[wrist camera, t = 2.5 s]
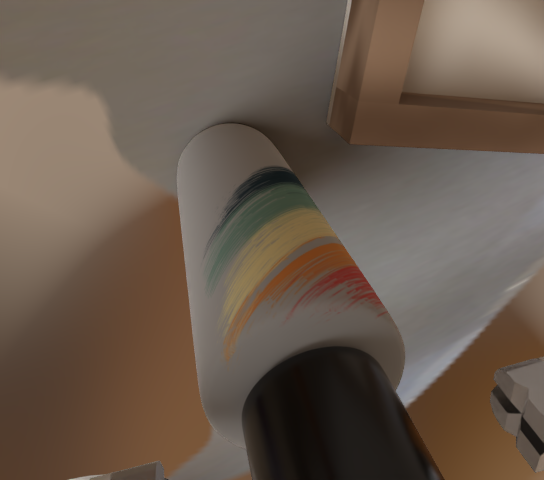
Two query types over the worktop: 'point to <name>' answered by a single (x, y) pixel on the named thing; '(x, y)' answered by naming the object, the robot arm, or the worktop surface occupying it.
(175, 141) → the worktop surface
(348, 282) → the lotion bottle
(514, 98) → the brown square shallow frame
